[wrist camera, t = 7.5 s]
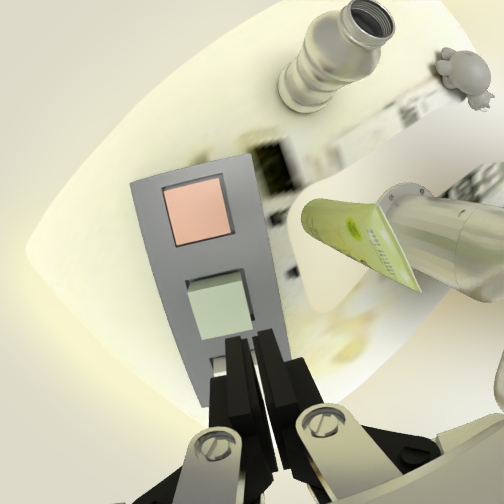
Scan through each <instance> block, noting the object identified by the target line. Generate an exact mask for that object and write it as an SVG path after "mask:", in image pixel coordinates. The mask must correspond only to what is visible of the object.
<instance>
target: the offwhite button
mask: <svg viewBox="0 0 504 504" xmlns="http://www.w3.org/2000/svg"><path fill="white" fill-rule="evenodd" d="M251 355H252V359H253V363H254V366H255V370H256V374H257V378H258V382H259V385H260V389H261V393H262V397H263V400H265V397H264V393H263V388H262V383H261V379H260V374H259V369H258V364H257V359H256V355H255V350H252V351H251ZM213 374H214V377H217V376H223V375H226V356H224V357H219V358H214V367H213Z"/></svg>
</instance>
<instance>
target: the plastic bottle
mask: <svg viewBox="0 0 504 504" xmlns="http://www.w3.org/2000/svg"><path fill="white" fill-rule="evenodd" d="M394 32H395V23H394V20H393V18H392V16H391V14H390V13H389V12H388V10H387V9H386V8H385V7H383V6H382V5H381V4H379V3H378V2H376V1H374V0H352V1H351V2H350V3H349V4H348V5H347V6H345V7H344V8H343V9H342V10H341V11H330V12H327V13H324V14H322V15H320V16H318V17H317V18H315V19H314V20H313V21H312V22H311V24H310V26H309V28H308V30H307V32H306V35H305V39H304V43H303V46H302V49H301V51H300V53H299V55H298V56H297V58H296V59H295V60H294V61H292V62H291V63H290V64H288V65H287V66H286V67H285V68H284V69H283V71H282V72H281V74H280V77H279V83H278V89H279V94H280V96H281V98H282V100H283V101H284V103H285V104H286V105H287V106H288V107H290V108H291V109H293V110H295V111H297V112H301V113H311V112H315V111H318V110H320V109H322V108H324V107H325V106H326V105H327V104H328V102H329V101H330V99H331V98H332V96H333V94H334V93H335V92H336V91H337V90H338V89H340V88H341V87H343V86H345V85H347V84H350V83H352V82H355V81H358V80H361V79H363V78H365V77H367V76H369V75H370V74H371V73H372V72H373V71H374V70H375V68H376V66H377V64H378V62H379V60H380V56H381V46H382V45H384V44H385V42H386V41H387V40H389V39H390V38H391V37H392V36H393V34H394Z"/></svg>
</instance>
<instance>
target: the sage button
mask: <svg viewBox="0 0 504 504" xmlns="http://www.w3.org/2000/svg"><path fill="white" fill-rule="evenodd" d="M187 293H188V297H189V300H190V304H191V307H192V310H193V313H194V317H195V320H196V323H197V326H198V329H199V332H200V336H201V339H202V340H204V339H209V338H214V337H219V336H224V335H229V334H234V333H238V332H243V331H247V330H252V329H253V326H252V322H251V317H250V313H249V309H248V305H247V300H246V296H245V292H244V288H243V283H242V279H241V275H240V271H238V272H234V273H229V274H225V275H221V276H216V277H212V278H207V279H203V280H198V281H194V282H190V285H189V288H188V292H187Z"/></svg>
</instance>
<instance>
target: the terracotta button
mask: <svg viewBox="0 0 504 504" xmlns="http://www.w3.org/2000/svg"><path fill="white" fill-rule="evenodd" d="M164 195H165V199H166V204H167V208H168V212H169V216H170V220H171V224H172V228H173V232H174V236H175V240H176V244H177V245H181V244H185V243H189V242H193V241H198V240H202V239H206V238H211V237H215V236H219V235H224V234H228V233H231V231H230V226H229V222H228V217H227V213H226V208H225V204H224V199H223V195H222V190H221V185H220V181H219V178H216V179H212V180H207V181H203V182H199V183H195V184H190V185H186V186H182V187H178V188H175V189H171V190H167V191H164Z"/></svg>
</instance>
